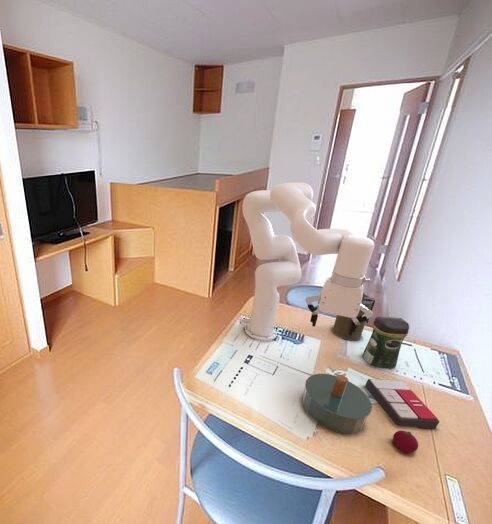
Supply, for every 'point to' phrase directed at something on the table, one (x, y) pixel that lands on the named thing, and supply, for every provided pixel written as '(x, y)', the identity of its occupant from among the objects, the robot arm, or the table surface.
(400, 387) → the calculator
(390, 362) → the coffee jar
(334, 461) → the table surface
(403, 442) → the beet
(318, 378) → the lid
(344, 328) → the canister
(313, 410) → the pot
